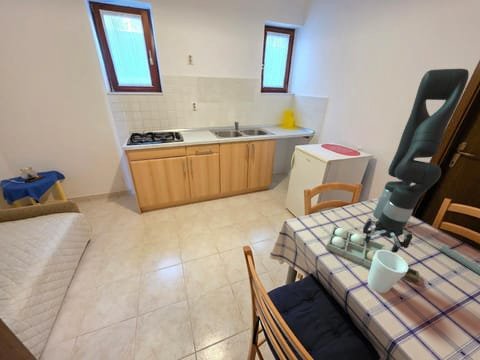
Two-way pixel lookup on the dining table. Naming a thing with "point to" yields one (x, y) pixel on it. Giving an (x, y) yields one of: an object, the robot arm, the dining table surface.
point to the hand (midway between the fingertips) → (379, 246)
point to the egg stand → (412, 276)
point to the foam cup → (386, 270)
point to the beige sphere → (370, 255)
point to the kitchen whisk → (452, 254)
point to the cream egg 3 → (357, 239)
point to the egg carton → (354, 249)
